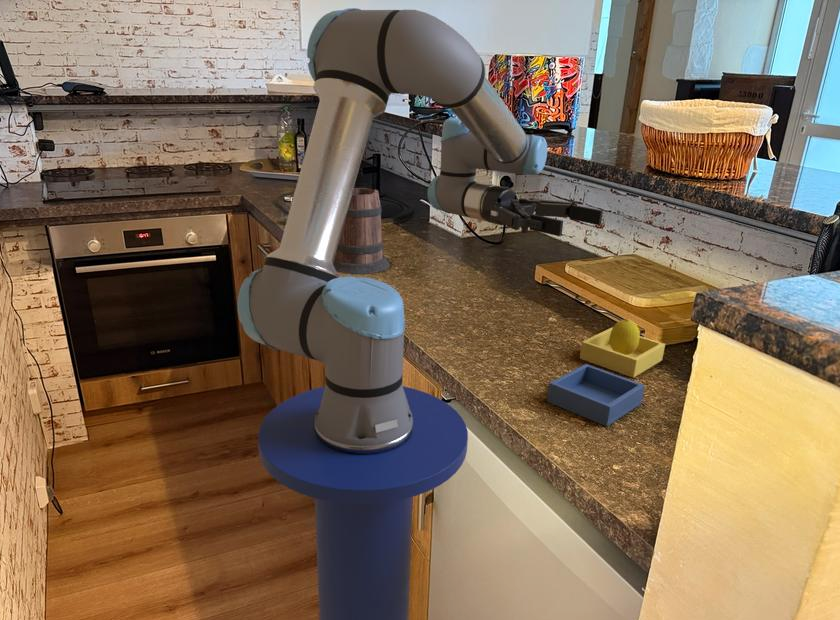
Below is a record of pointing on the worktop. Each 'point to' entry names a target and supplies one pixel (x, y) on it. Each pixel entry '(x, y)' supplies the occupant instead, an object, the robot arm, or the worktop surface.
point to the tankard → (361, 235)
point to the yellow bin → (630, 364)
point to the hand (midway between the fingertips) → (582, 223)
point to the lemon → (624, 337)
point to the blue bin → (595, 394)
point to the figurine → (286, 217)
